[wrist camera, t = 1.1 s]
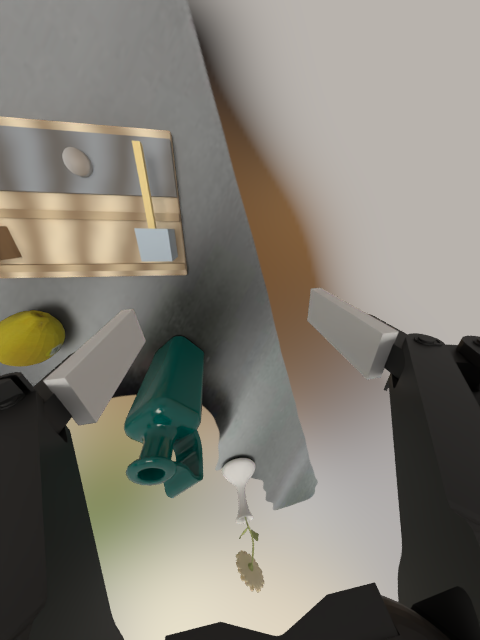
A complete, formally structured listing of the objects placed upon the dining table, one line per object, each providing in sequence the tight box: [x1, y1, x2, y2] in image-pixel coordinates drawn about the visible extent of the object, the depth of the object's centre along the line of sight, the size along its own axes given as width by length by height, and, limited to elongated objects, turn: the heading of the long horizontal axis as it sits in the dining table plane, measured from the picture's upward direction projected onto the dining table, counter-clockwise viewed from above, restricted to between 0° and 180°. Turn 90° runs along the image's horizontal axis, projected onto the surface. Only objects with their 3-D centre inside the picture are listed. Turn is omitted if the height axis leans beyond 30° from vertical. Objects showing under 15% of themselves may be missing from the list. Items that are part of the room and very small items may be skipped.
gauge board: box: [0, 117, 187, 278], centre depth 23 cm, size 28×18×6 cm, turn 89°
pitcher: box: [124, 336, 204, 498], centre depth 30 cm, size 10×8×22 cm
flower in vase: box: [222, 458, 264, 592], centre depth 52 cm, size 13×11×25 cm
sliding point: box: [132, 141, 178, 262], centre depth 24 cm, size 4×12×5 cm, turn 179°
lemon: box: [0, 310, 65, 366], centre depth 29 cm, size 11×8×8 cm
